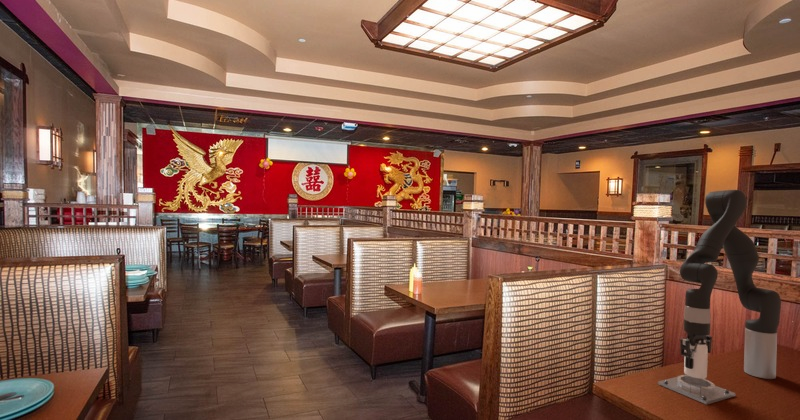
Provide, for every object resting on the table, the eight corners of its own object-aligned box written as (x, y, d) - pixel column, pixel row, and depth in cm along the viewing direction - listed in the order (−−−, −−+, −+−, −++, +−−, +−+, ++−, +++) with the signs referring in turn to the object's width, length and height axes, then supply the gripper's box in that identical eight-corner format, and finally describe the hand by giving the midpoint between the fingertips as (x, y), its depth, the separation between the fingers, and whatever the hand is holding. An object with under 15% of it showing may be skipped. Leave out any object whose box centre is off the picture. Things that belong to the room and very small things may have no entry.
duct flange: (685, 377, 152) (686, 369, 152) (735, 396, 137) (735, 387, 137) (658, 384, 145) (658, 376, 145) (706, 404, 131) (706, 395, 131)
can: (710, 380, 137) (711, 345, 137) (689, 378, 139) (690, 343, 138) (700, 372, 144) (701, 339, 143) (680, 370, 145) (681, 337, 145)
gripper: (698, 314, 147) (696, 360, 147) (672, 318, 141) (671, 365, 142) (721, 320, 140) (719, 367, 140) (695, 324, 135) (694, 373, 135)
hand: (695, 366), depth 141 cm, fingers closed on can, 6 cm apart
